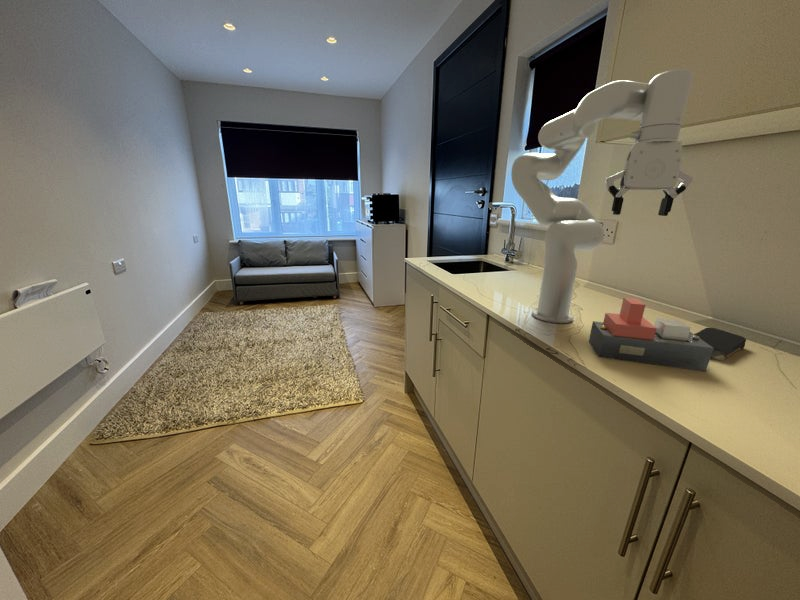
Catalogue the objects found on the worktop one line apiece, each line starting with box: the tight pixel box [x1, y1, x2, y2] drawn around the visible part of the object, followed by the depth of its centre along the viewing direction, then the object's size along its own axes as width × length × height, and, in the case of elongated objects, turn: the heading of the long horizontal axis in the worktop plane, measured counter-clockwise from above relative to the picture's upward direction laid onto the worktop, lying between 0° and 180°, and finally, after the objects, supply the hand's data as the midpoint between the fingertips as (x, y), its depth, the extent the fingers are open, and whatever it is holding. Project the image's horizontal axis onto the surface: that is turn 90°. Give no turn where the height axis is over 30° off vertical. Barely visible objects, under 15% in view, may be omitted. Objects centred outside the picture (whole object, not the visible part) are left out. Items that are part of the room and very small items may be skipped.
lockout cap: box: [602, 297, 657, 340], centre depth 79 cm, size 8×8×8 cm
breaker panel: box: [588, 317, 714, 372], centre depth 79 cm, size 10×22×10 cm, turn 73°
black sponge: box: [693, 327, 747, 361], centre depth 85 cm, size 16×8×4 cm, turn 120°
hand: (639, 215), depth 77 cm, fingers open, 9 cm apart
